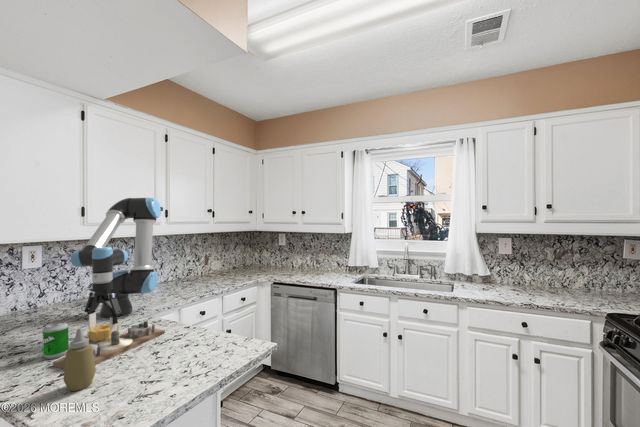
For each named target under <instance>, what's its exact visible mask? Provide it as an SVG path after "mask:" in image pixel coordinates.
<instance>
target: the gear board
mask: <svg viewBox="0 0 640 427" xmlns="http://www.w3.org/2000/svg"><path fill="white" fill-rule="evenodd" d="M164 333H165V334H166V330H164V329H160V328H159V329H158V328H156V325H155V323H154V324H153V322H149V321H148V320H145V321H143V322H141V323H139V324H133V325H131V327H128V328H127V332H126V333H123V334H120V332H119V330H118V331H113V332H112V334H111V338H109V339H108V340H104V341H103V342H101V343H94V344H93V343H92V344H91V343H89V345H92V348H93V355H94V362H95V366H96V365H98V364H101V363H103V362H105V361H107V360H110V359H112V358H114V357H117V356H118V355H120V354H123V353H125V352H127V351H129V350H132V349H133V348H136V347H138V346H140V345H143V344H145V343H146V342H149V341H152V340H154V339H156V338H158V337H161V336H162V334H163V335H165V334H164ZM160 335H161V336H160ZM65 361H66V356H64V357H62V358H60V359H57V360H54V361H53V362H52V365H53V367H56V368H59V369H64V370H65Z"/></svg>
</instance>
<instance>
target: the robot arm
mask: <svg viewBox="0 0 640 427" xmlns="http://www.w3.org/2000/svg"><path fill="white" fill-rule="evenodd" d="M161 211H162V209H161V206H160V202H159V201H158V200H157V199H156V198H154V197H135V198H134V197H128V198H127V197H126V198H124V199H121V200H119V201H117V202H116V203H114V204H113V205H112V206H111V207H110V208H109V209H108V210H107V211H106V213H105V218H104V220H102V222H101V223H100V225H99V226H98V228H97V229H96V231H94V233H93V235H92V236H91V237H90V238H89V240H88V242H87V243H86V244H85V245H84V246H83V248H82V249H81V250H80V249H79V250H75V251H73V252H72V253H71V255H70V263H71V264H72V265H73V267H84V268H85V267H91V268H92V269H91V270H92V271H91V273H92V274H91V276H92V280H91V282H92V286H91V290H92V291H90V292H89V293H88V295H89V296H88V300H87V302H86V305H85V308H84V313H87V317H88V330H89V329H90V328H92V327H96V326H97V313H96V310H97V309H98V308H99V305H100V304H102V305H101V307H100V310H99V317H101V318H109V323H110V332H113V331H117V324H118V322H119V320H118V317H121V316H125V315H128V314H130V313H132V312H133V306H132V302H131V300H130V298H129V297H130V296H129V295H135V294H136V295H137V294H142V295H143V294H144V295H145V294H150V293H152V292H154V290H156V287H157V285H158V281H159V275H158V274H159V273H158V272H156V271H155V267H154V266H152V264H153V263H152V260H153V259H152V256H153V239H154V238H153V237H154V236H153V232H154V224H155V223H156V222H157V219H158V218H160V217H161V214H162V213H161ZM128 219H132V222H134V223H135V238H134V239H135V240H134V256H133V266H132V268H131V269H130V272H129V270H128V269H124V270H123V269H122V270H117V271H114V270H113V267H114V266H120V265H122V264H124V263H126V262H127V261H128V259H129V254H128V252H127V251H126V250H125V249H123V248H116V249H113V248H112V246H107V245H108V243H109V242H110V240H111V238H112V237H113V236H114V234H115V233H116V232H117V230H118V228H119V226H120V225H121V224H123V223H125V221H126V220H128Z"/></svg>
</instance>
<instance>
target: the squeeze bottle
mask: <svg viewBox="0 0 640 427" xmlns="http://www.w3.org/2000/svg"><path fill="white" fill-rule="evenodd" d="M89 344H90V341H89V339H88V337H85V335H84V332H83V328H77V329H76V333H75V337H74V340H72V341H70V342H69V350H68V351H67V352H66V354H65V357H66V361H65V369H64V371H63V382H64V384H65V386H66V388H67V390H68V391H70V392H77V391H81V390H83V389H87V388H88V387H89V386H91V385H92V384H93V381H94V377H95V375H96V371H97V370H96V365H95V362H94V355H93V348H92V345H89Z"/></svg>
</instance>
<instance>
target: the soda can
mask: <svg viewBox="0 0 640 427" xmlns="http://www.w3.org/2000/svg"><path fill="white" fill-rule="evenodd" d="M69 349H70V343H69V324H68V323H66V322H65V321H58V322H52V323H49V324H47V325H45V327H44V328H42V350H43V351H42V357H43V358H45V359H46V360H53V359H58V358H60V357H63V356H66V352H67V351H68V350H69Z"/></svg>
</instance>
